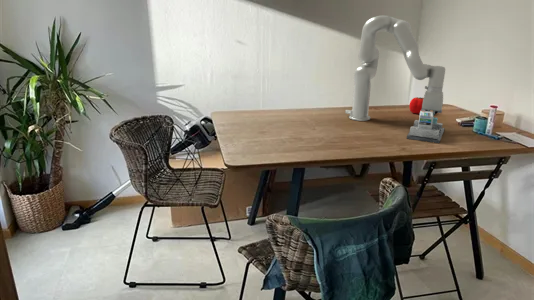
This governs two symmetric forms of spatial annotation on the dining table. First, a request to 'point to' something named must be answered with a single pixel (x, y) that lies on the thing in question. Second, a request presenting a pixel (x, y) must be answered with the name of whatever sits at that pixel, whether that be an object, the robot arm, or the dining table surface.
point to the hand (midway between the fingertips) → (429, 121)
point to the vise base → (425, 134)
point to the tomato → (416, 105)
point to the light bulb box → (425, 119)
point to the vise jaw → (434, 125)
